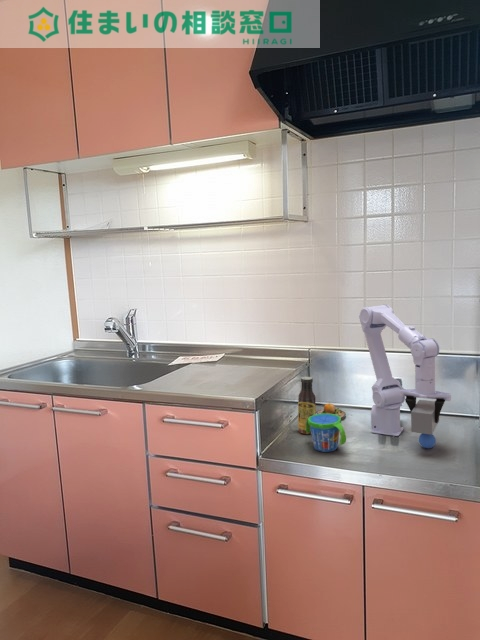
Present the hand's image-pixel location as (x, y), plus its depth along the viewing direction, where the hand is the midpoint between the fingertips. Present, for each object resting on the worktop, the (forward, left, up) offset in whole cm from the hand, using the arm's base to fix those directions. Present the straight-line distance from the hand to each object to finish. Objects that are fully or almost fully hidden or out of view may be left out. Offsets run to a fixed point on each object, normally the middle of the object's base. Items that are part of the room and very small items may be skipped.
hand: (425, 420), depth 154 cm
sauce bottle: (-40, 0, -10) cm, 41 cm away
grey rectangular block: (0, 0, -2) cm, 2 cm away
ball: (0, +1, -7) cm, 7 cm away
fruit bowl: (-38, +17, -10) cm, 43 cm away
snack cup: (-29, -11, -10) cm, 32 cm away
